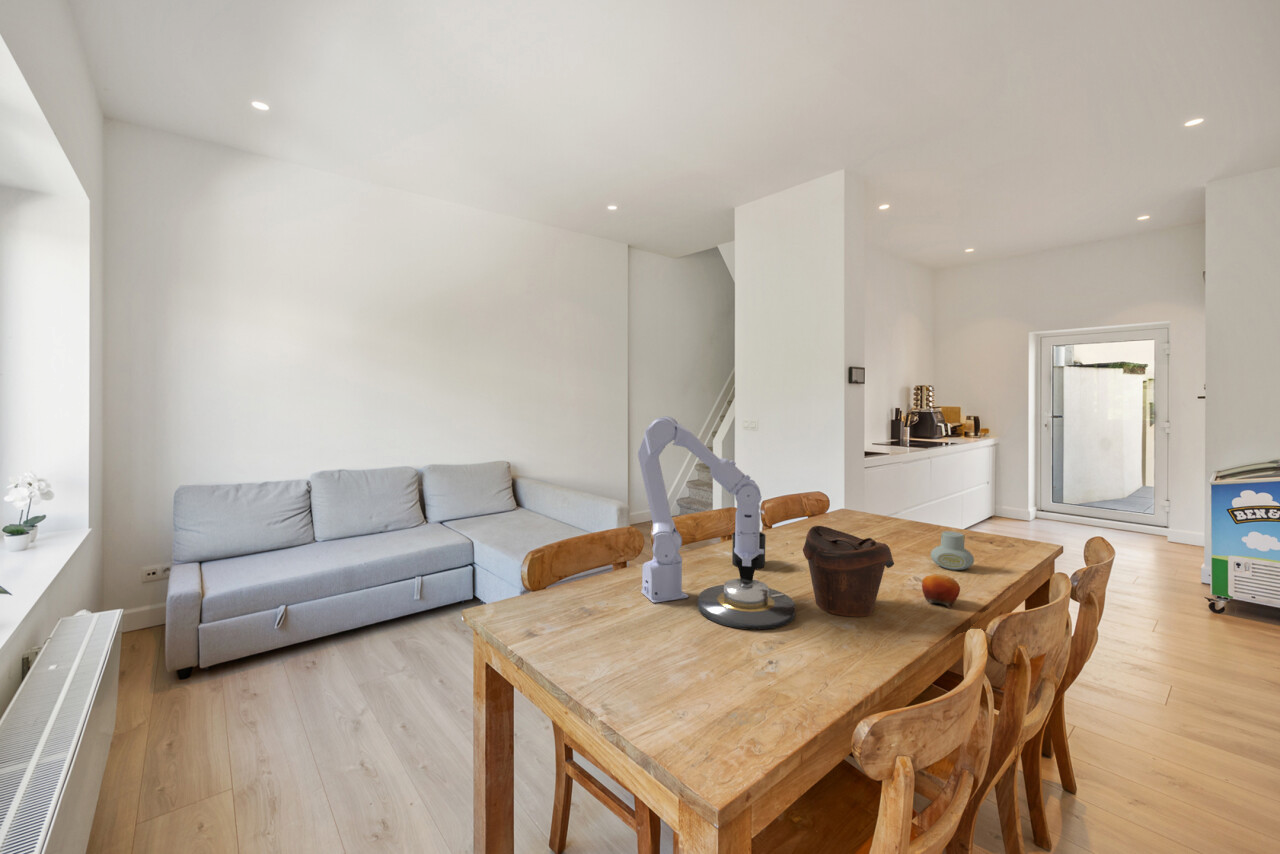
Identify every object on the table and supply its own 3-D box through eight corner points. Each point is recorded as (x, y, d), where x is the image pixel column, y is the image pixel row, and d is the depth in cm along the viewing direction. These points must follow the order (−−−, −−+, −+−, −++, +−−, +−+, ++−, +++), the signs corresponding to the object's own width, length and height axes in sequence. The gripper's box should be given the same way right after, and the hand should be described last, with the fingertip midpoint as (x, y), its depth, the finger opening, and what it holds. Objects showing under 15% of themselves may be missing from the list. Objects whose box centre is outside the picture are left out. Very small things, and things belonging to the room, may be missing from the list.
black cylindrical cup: (776, 563, 160) (776, 533, 160) (752, 571, 152) (753, 540, 151) (749, 556, 167) (750, 527, 167) (725, 564, 159) (726, 533, 158)
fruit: (921, 601, 127) (922, 568, 130) (921, 608, 133) (922, 576, 136) (961, 608, 123) (961, 573, 126) (958, 615, 129) (959, 581, 132)
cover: (739, 612, 118) (739, 594, 117) (715, 596, 127) (716, 579, 127) (777, 605, 121) (777, 588, 121) (751, 590, 131) (752, 574, 130)
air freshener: (973, 566, 158) (975, 533, 157) (973, 574, 151) (974, 539, 150) (931, 560, 164) (932, 528, 163) (929, 567, 157) (930, 533, 156)
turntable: (730, 636, 110) (730, 626, 110) (681, 598, 131) (681, 590, 131) (816, 620, 119) (816, 610, 119) (758, 587, 139) (758, 579, 139)
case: (902, 626, 116) (903, 543, 115) (805, 618, 120) (806, 539, 119) (882, 597, 134) (883, 525, 133) (798, 591, 138) (799, 522, 137)
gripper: (765, 540, 121) (764, 599, 122) (763, 525, 136) (762, 578, 136) (733, 538, 123) (732, 596, 124) (735, 523, 137) (734, 576, 138)
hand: (746, 586), depth 130 cm, fingers closed
